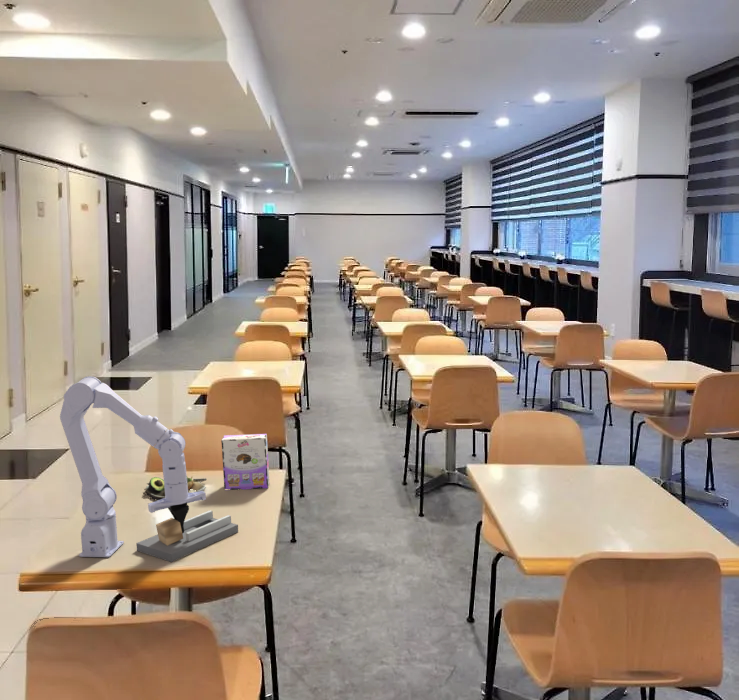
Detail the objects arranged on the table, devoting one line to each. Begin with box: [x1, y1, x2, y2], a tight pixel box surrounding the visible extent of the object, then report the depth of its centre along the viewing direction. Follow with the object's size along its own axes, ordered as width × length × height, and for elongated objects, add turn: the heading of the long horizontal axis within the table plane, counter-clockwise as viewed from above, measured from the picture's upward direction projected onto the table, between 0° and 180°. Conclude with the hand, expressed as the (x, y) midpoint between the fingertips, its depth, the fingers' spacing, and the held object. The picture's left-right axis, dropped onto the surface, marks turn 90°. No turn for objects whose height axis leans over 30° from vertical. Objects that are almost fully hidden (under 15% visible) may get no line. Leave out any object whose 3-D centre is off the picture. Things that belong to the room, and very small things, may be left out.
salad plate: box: [144, 476, 207, 501], centre depth 248 cm, size 19×18×5 cm
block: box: [155, 517, 183, 546], centre depth 202 cm, size 4×4×4 cm
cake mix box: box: [220, 433, 270, 491], centre depth 249 cm, size 14×6×16 cm, turn 92°
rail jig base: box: [135, 509, 239, 563], centre depth 207 cm, size 23×13×4 cm, turn 145°
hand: (180, 532), depth 204 cm, fingers closed, pressing on block
